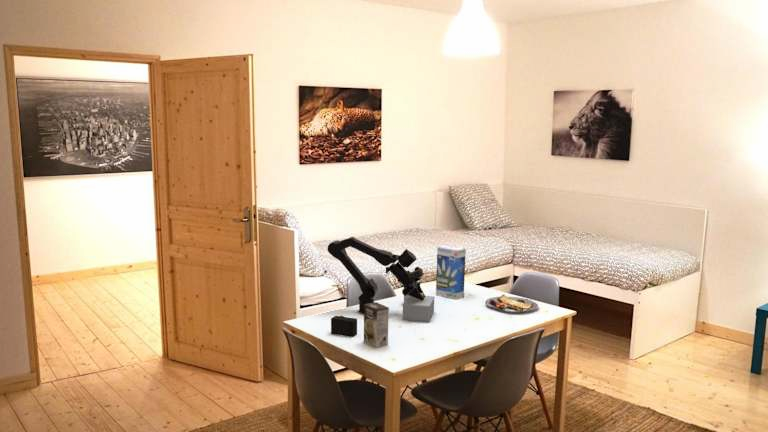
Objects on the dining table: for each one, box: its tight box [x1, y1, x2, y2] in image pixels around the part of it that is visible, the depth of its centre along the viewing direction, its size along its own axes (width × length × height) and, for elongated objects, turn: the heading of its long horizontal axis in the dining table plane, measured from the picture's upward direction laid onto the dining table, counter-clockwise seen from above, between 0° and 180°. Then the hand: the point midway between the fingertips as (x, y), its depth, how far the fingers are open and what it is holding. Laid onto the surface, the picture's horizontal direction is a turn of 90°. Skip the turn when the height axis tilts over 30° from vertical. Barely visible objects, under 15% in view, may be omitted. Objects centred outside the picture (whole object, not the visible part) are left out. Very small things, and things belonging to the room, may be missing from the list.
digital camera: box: [330, 315, 358, 338], centre depth 275 cm, size 10×5×7 cm, turn 67°
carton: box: [402, 299, 435, 323], centre depth 300 cm, size 12×16×7 cm
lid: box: [402, 292, 435, 307], centre depth 299 cm, size 12×16×4 cm
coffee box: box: [363, 301, 390, 349], centre depth 262 cm, size 9×6×16 cm
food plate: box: [485, 294, 539, 313], centre depth 317 cm, size 25×23×4 cm
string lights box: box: [435, 244, 467, 300], centre depth 334 cm, size 13×8×26 cm, turn 50°
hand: (424, 298), depth 299 cm, fingers open, 4 cm apart
